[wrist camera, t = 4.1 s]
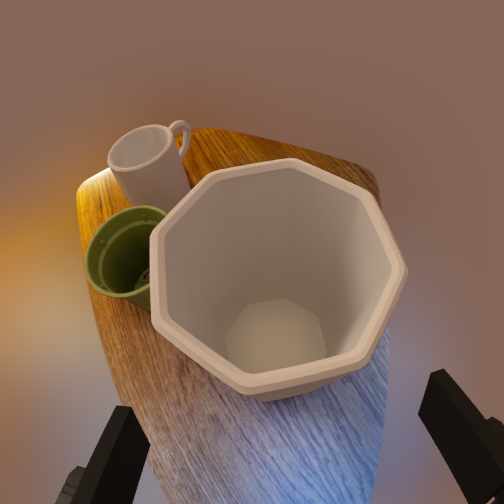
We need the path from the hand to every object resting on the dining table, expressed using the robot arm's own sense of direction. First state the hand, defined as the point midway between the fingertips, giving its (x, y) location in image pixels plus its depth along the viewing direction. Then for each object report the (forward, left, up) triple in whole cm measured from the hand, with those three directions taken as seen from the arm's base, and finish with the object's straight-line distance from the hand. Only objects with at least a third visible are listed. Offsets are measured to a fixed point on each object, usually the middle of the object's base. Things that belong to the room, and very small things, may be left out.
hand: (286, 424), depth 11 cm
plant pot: (+18, -3, -16) cm, 24 cm away
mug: (+27, -15, -16) cm, 35 cm away
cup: (+4, -5, -16) cm, 17 cm away
